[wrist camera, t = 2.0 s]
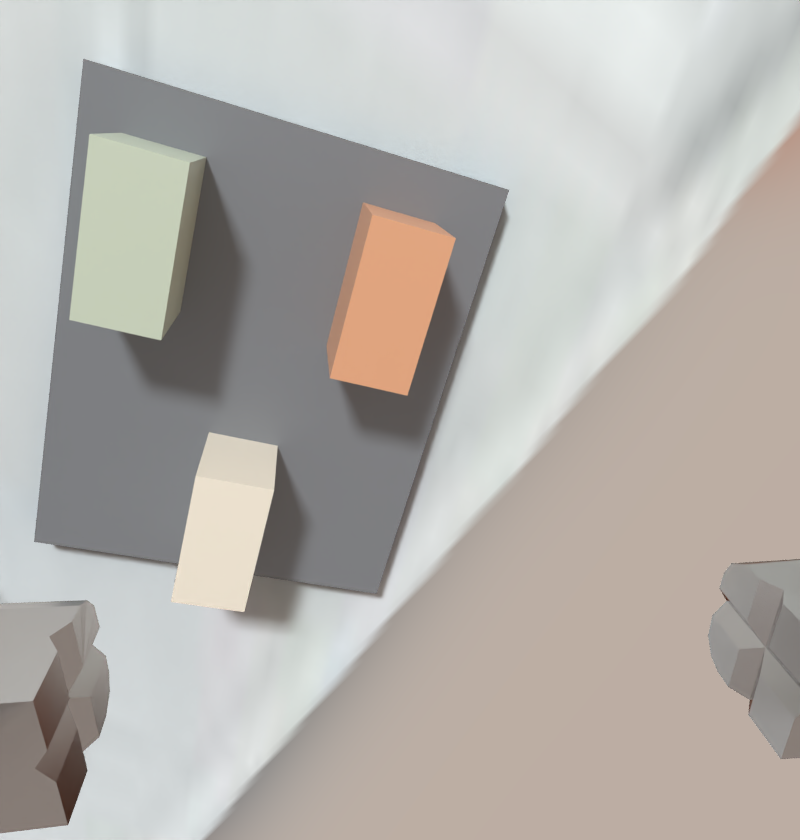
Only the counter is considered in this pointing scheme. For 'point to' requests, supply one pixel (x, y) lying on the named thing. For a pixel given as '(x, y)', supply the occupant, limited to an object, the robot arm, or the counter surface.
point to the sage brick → (135, 234)
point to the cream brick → (225, 523)
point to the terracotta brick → (387, 299)
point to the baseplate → (251, 344)
